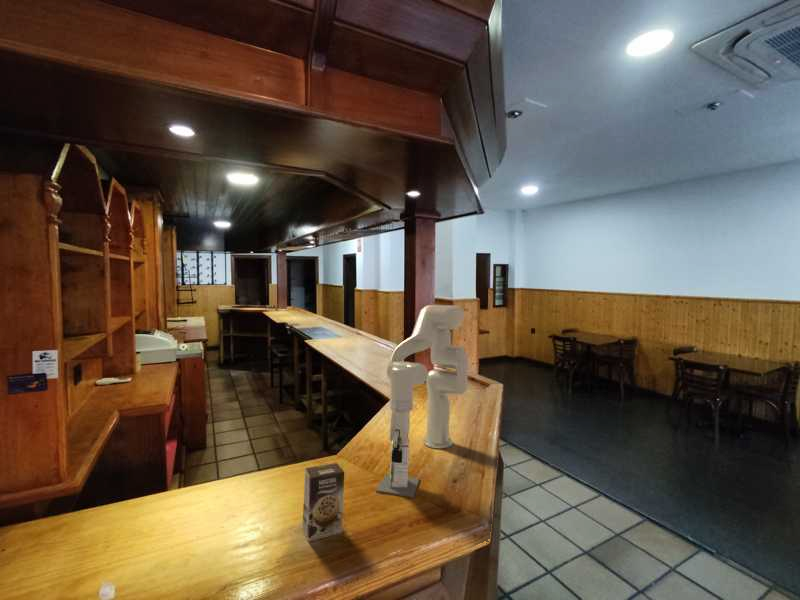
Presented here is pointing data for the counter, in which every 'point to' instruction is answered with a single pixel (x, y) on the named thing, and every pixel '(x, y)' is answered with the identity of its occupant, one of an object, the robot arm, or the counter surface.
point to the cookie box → (323, 501)
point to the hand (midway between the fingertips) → (400, 455)
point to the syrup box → (400, 468)
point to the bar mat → (407, 492)
